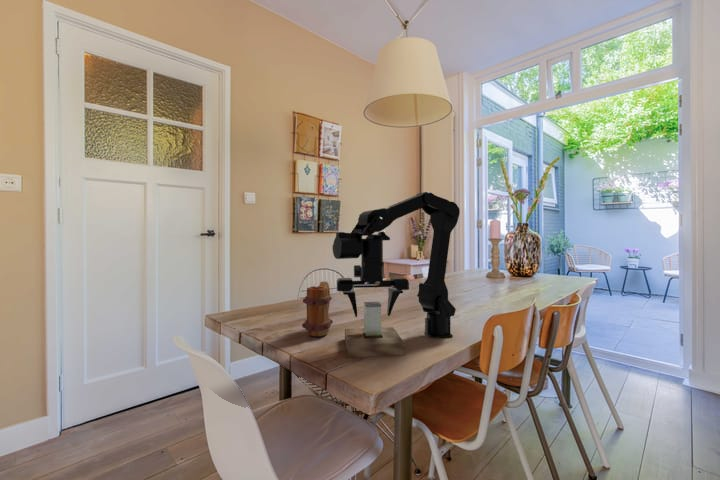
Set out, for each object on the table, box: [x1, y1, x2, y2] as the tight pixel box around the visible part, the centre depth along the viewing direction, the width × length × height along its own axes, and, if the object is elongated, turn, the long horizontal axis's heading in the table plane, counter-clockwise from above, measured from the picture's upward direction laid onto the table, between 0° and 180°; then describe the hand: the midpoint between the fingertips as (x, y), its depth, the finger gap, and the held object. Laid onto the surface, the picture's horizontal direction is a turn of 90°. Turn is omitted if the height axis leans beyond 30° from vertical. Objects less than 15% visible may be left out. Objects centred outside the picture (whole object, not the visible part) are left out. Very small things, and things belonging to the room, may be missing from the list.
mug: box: [301, 281, 334, 338], centre depth 100 cm, size 15×8×15 cm, turn 168°
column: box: [363, 301, 382, 336], centre depth 87 cm, size 4×4×8 cm
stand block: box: [344, 326, 406, 358], centre depth 87 cm, size 14×14×4 cm
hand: (372, 316), depth 87 cm, fingers open, 8 cm apart
